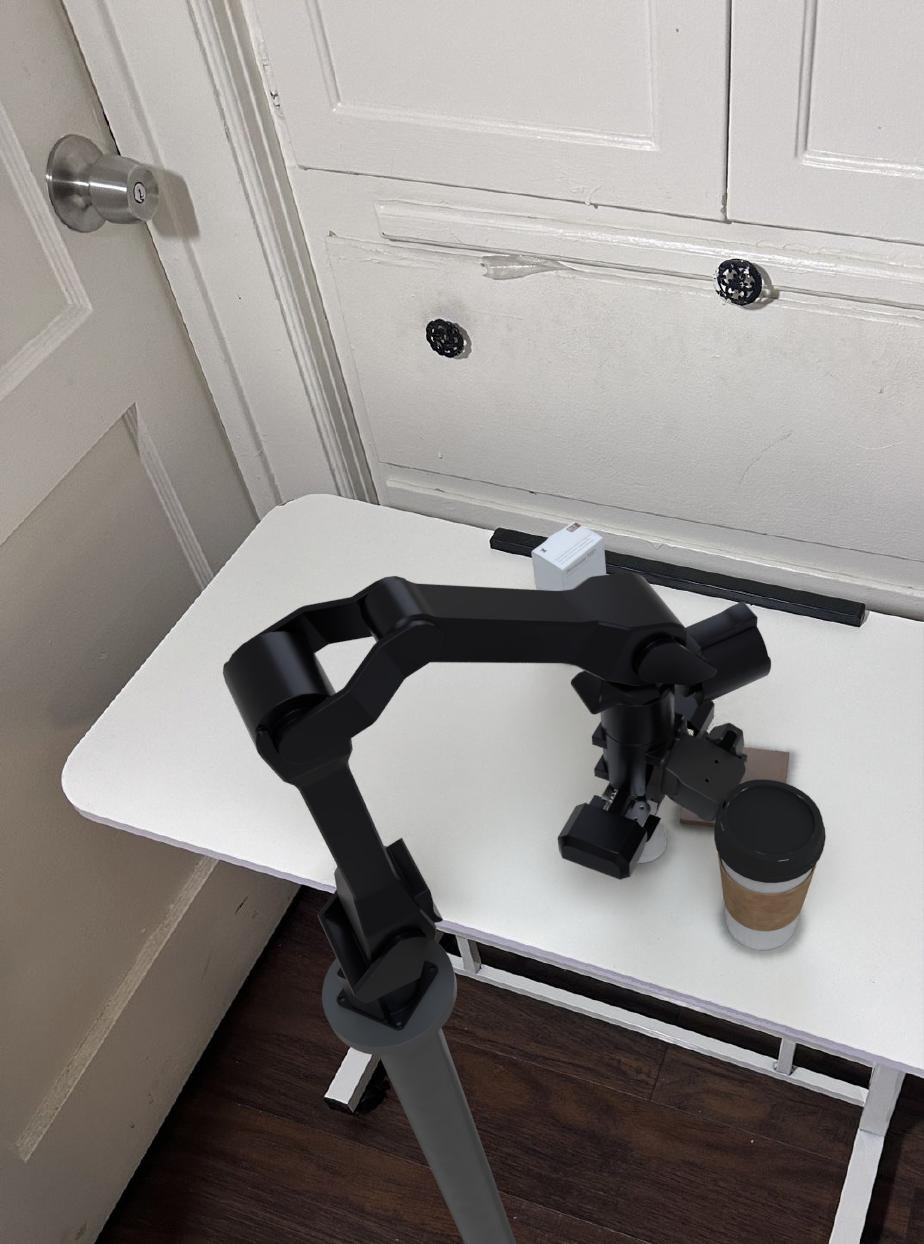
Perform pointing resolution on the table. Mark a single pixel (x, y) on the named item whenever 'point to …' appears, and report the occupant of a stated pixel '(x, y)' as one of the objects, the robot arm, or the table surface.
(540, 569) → the cosmetic box
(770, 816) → the coffee cup
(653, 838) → the rook chess piece
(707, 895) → the table surface
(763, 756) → the walnut coaster
